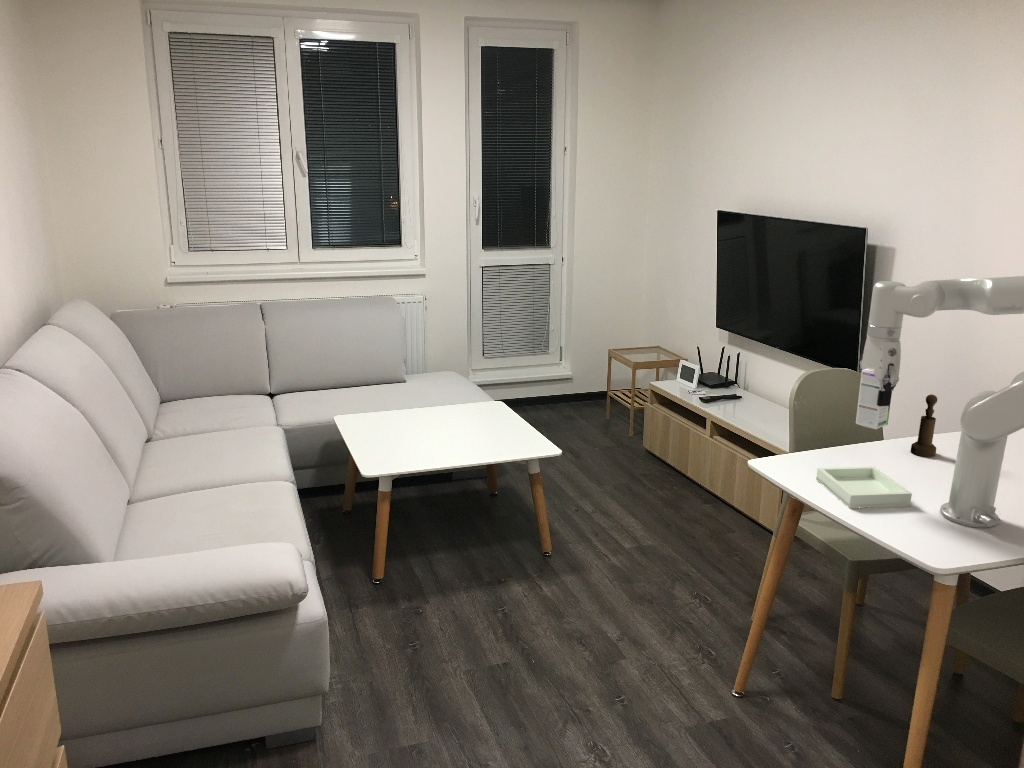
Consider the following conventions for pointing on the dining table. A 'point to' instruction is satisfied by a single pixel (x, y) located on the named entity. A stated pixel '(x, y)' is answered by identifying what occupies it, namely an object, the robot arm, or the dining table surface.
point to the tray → (863, 487)
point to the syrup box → (871, 402)
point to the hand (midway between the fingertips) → (874, 400)
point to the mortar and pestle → (926, 431)
